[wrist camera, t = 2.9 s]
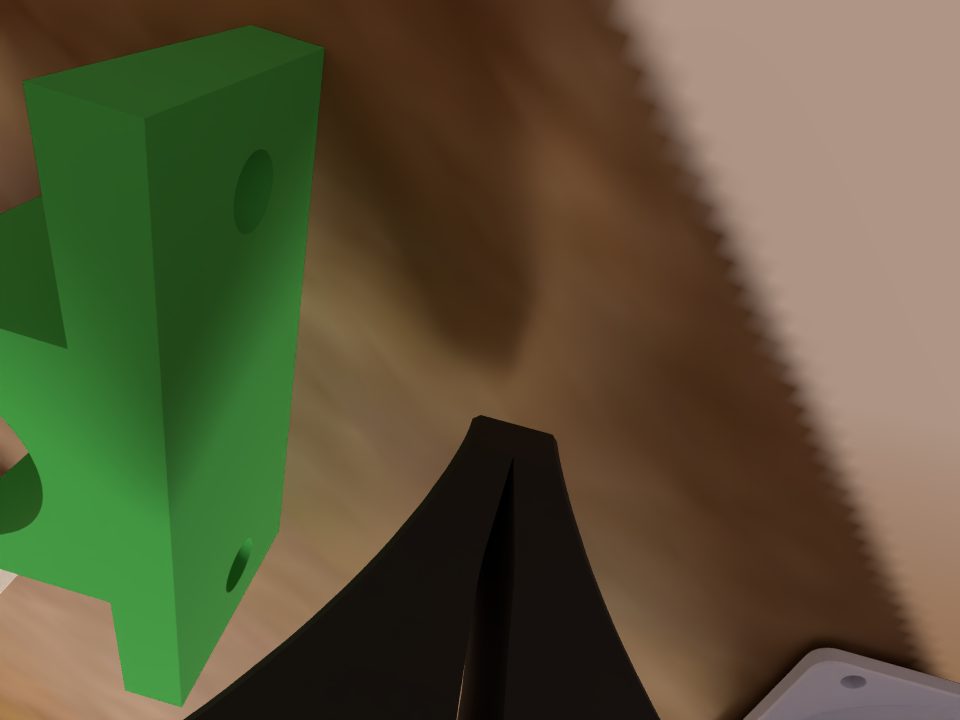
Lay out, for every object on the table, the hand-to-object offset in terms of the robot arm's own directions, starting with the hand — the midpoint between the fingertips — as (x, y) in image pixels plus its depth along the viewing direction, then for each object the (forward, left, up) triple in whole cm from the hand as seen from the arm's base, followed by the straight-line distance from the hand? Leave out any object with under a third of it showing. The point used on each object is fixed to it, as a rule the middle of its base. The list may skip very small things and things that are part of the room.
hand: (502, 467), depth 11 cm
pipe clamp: (+6, 0, -2) cm, 6 cm away
